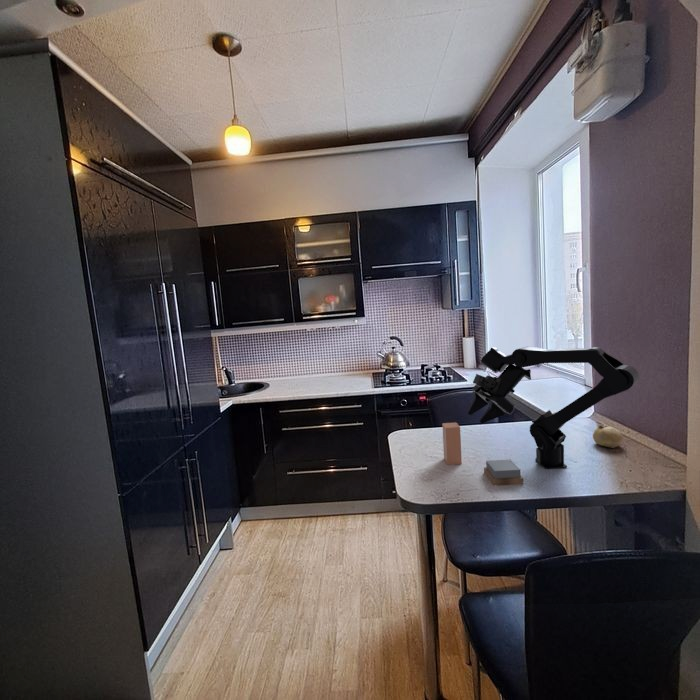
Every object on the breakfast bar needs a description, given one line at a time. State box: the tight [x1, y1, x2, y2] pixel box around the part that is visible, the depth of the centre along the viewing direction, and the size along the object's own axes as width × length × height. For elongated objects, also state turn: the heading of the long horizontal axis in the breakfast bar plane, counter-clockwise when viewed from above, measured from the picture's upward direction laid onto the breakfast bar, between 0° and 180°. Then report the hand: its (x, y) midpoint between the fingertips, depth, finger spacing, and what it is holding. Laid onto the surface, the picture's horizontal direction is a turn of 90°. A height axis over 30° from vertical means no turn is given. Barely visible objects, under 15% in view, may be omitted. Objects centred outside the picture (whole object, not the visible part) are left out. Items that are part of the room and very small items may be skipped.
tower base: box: [483, 466, 524, 486], centre depth 105 cm, size 8×8×2 cm
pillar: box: [441, 422, 463, 466], centre depth 118 cm, size 4×4×12 cm
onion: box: [592, 423, 624, 449], centre depth 121 cm, size 8×8×7 cm
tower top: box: [485, 459, 522, 479], centre depth 105 cm, size 7×7×2 cm
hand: (474, 418), depth 117 cm, fingers open, 9 cm apart
